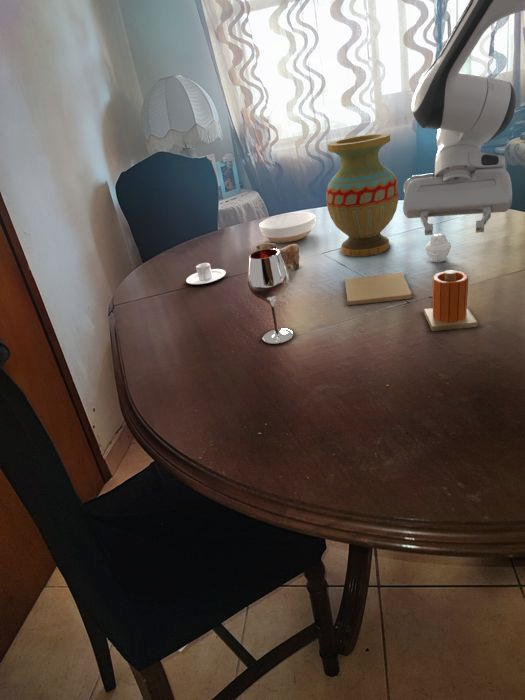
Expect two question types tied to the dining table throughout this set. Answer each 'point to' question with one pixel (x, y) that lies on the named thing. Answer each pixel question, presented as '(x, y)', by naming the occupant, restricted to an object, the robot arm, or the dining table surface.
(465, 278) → the orange ring
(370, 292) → the cork mat
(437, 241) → the muffin
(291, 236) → the bowl
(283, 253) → the figurine
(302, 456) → the dining table surface
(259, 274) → the wineglass
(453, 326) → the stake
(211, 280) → the candle holder
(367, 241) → the vase
